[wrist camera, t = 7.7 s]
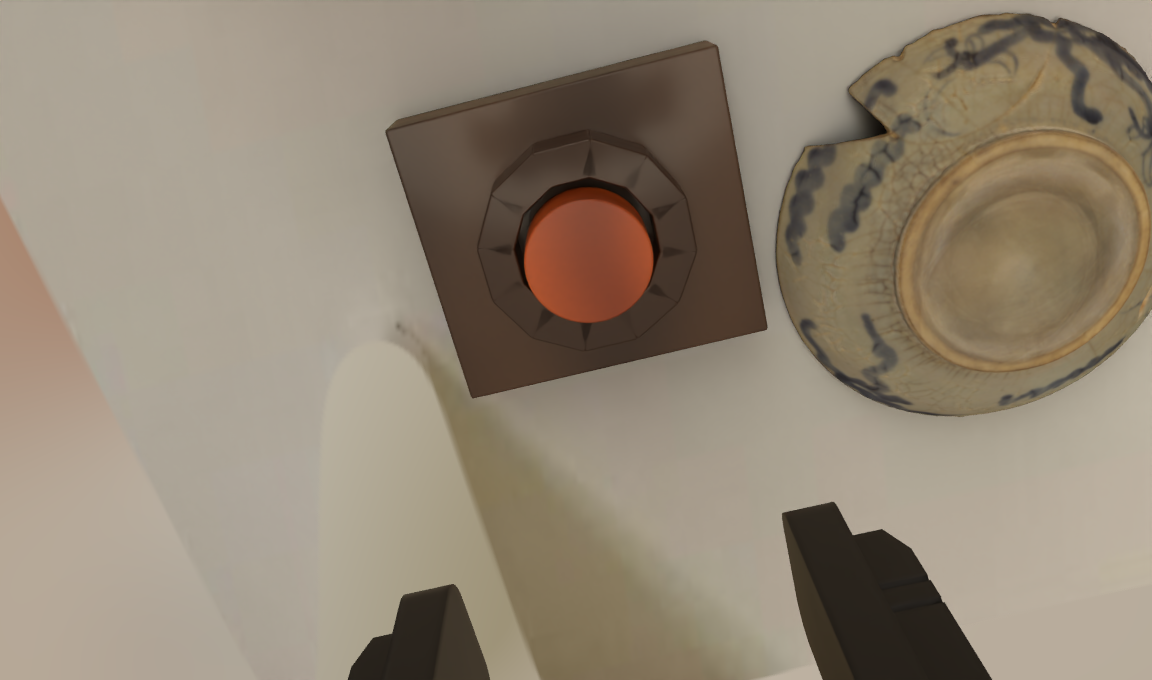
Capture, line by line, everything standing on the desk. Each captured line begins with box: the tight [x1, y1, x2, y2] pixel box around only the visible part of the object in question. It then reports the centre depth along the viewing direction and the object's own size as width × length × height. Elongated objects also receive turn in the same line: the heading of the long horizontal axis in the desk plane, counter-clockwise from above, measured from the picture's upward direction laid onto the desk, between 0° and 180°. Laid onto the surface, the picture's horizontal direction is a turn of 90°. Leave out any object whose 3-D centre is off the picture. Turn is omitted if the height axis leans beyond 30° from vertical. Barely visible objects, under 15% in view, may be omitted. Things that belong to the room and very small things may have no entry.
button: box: [524, 187, 654, 323], centre depth 28 cm, size 4×4×2 cm
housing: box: [386, 41, 767, 398], centre depth 31 cm, size 11×10×4 cm
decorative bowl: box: [776, 13, 1152, 417], centre depth 31 cm, size 15×4×15 cm
